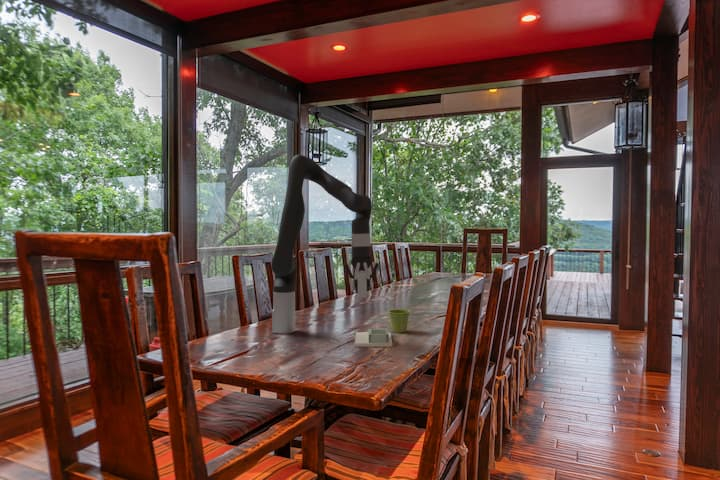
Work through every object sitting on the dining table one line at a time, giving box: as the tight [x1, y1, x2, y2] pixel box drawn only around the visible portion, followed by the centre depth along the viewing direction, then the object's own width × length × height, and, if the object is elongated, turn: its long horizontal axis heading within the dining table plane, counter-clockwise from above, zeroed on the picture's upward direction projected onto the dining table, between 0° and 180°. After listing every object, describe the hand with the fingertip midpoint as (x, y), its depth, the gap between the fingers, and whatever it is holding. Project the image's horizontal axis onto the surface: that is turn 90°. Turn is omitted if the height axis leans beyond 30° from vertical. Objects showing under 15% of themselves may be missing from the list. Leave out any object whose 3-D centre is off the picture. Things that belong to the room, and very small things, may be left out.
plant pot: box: [387, 308, 411, 334], centre depth 195 cm, size 9×9×9 cm
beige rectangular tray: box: [354, 328, 393, 348], centre depth 179 cm, size 14×18×4 cm
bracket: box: [357, 271, 368, 299], centre depth 181 cm, size 4×6×10 cm, turn 179°
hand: (362, 288), depth 181 cm, fingers closed on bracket, 3 cm apart
